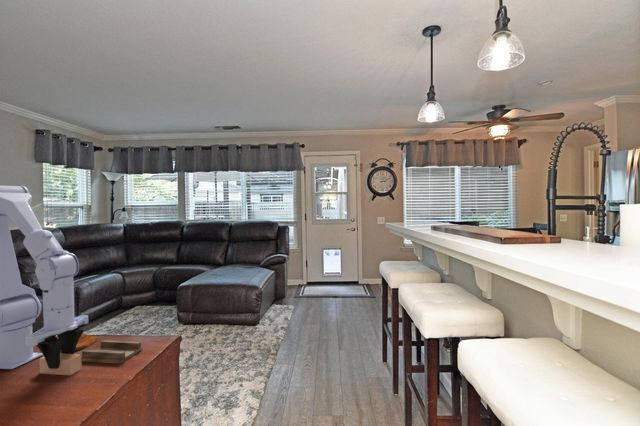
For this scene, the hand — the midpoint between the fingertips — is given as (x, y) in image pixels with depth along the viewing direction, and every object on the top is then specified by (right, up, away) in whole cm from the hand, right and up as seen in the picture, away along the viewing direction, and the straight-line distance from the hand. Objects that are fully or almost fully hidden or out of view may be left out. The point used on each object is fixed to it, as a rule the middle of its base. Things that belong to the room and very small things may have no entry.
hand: (60, 364), depth 79 cm
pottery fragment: (-8, -2, +14) cm, 17 cm away
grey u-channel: (+7, -1, +8) cm, 11 cm away
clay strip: (0, -2, 0) cm, 2 cm away
